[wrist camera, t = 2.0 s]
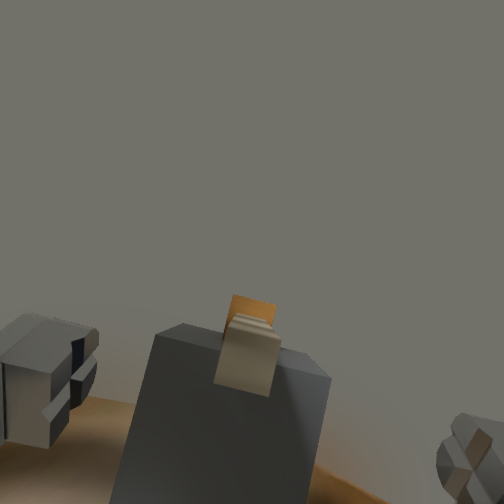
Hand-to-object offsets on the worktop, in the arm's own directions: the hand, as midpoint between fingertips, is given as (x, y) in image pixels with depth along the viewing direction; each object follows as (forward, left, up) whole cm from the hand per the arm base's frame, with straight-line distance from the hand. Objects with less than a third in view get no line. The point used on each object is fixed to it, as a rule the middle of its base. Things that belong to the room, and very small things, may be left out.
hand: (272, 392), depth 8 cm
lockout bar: (-15, +15, -3) cm, 21 cm away
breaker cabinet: (-19, +18, -29) cm, 38 cm away
